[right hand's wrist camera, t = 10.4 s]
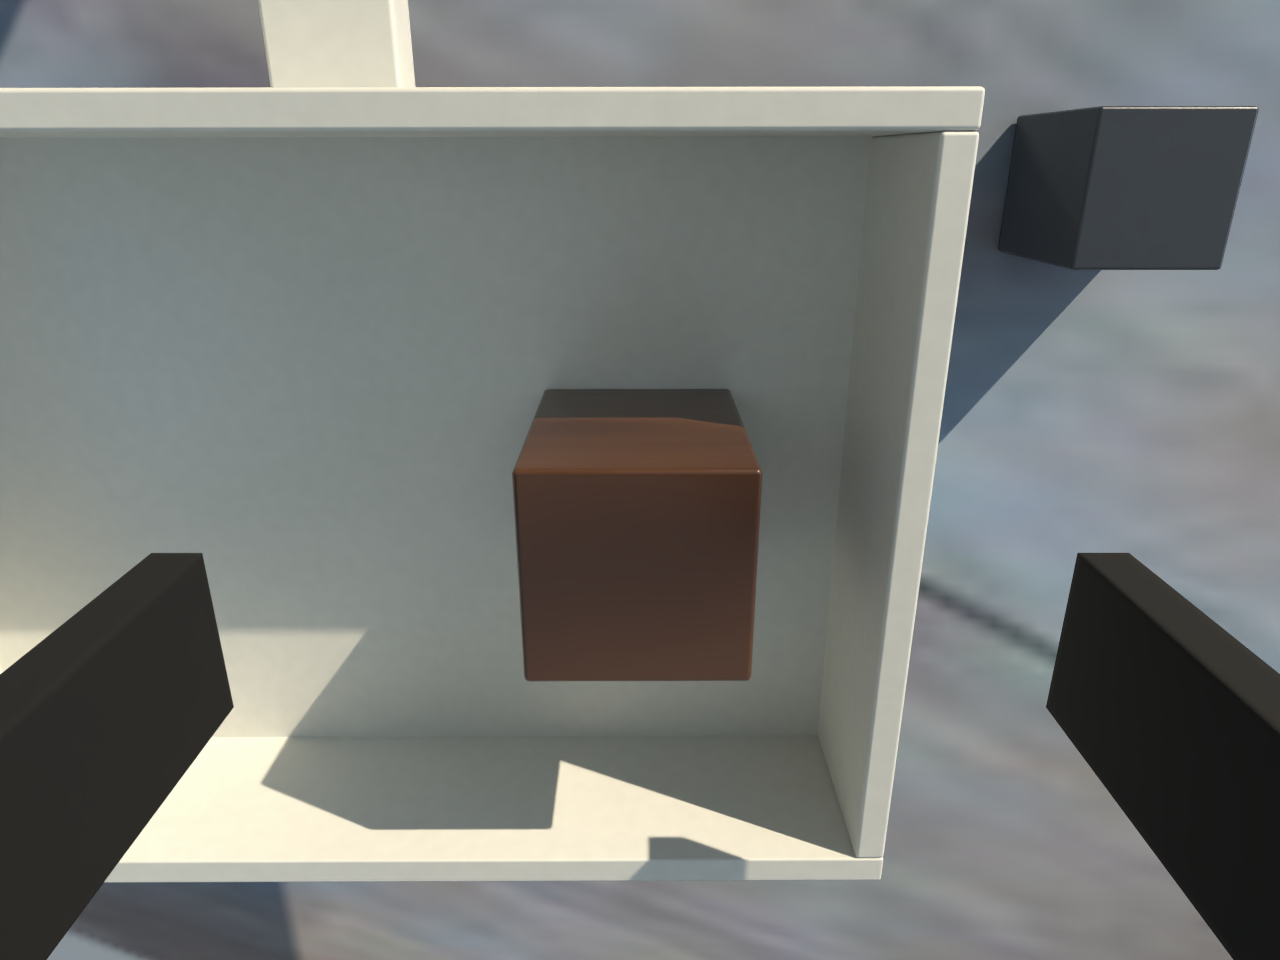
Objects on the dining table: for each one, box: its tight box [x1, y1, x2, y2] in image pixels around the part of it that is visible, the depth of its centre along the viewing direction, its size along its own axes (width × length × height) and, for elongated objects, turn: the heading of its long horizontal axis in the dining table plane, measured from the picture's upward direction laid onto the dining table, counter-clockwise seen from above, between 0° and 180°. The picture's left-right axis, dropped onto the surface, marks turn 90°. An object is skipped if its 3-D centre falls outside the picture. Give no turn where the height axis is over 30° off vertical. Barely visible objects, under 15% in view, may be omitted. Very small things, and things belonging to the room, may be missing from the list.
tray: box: [0, 0, 985, 883], centre depth 13 cm, size 27×21×8 cm
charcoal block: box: [999, 106, 1259, 270], centre depth 24 cm, size 4×4×5 cm
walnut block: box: [512, 389, 762, 682], centre depth 16 cm, size 4×4×5 cm
